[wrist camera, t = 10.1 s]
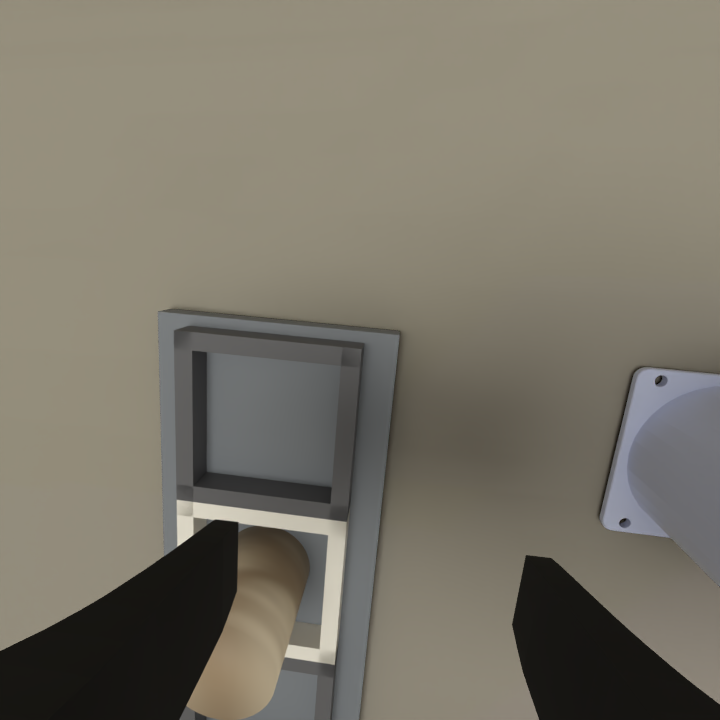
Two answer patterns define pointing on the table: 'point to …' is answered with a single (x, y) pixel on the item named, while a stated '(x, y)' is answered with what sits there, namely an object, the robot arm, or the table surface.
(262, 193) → the table surface
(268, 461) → the gray compartment tray
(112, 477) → the table surface
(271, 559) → the beech pin
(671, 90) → the table surface
